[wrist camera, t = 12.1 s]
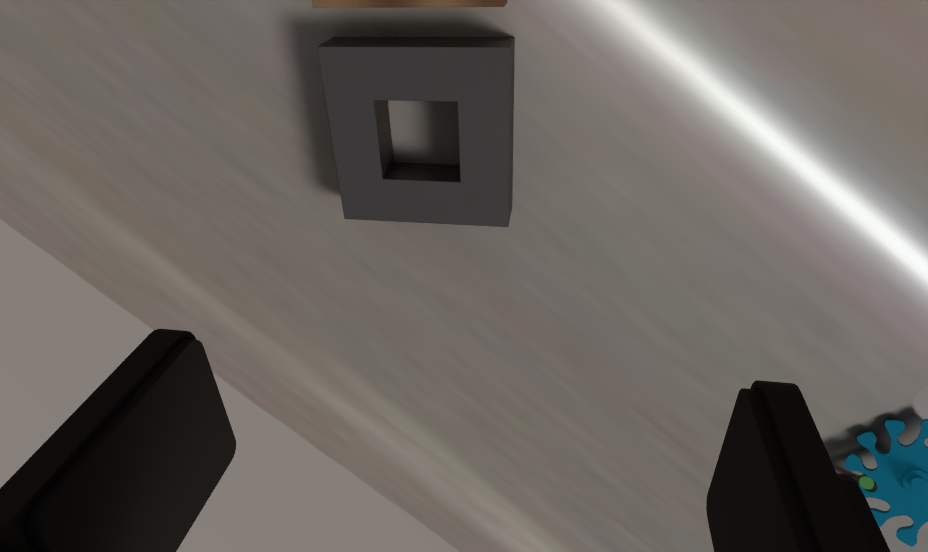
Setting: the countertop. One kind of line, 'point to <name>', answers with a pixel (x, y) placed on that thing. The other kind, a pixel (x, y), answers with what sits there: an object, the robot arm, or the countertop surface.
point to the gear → (896, 478)
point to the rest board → (406, 3)
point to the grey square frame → (421, 79)
